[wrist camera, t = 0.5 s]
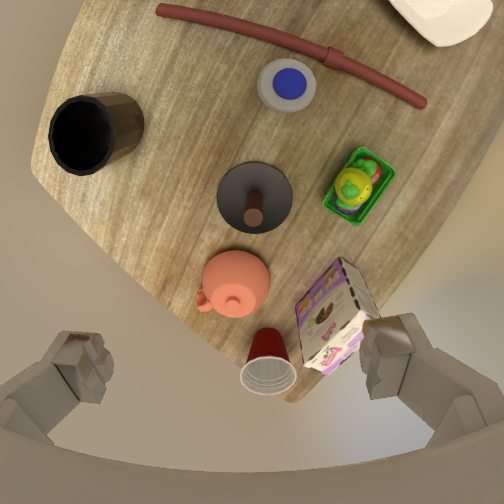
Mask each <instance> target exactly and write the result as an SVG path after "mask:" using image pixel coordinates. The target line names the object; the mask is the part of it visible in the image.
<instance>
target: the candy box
mask: <svg viewBox="0 0 504 504" xmlns="http://www.w3.org/2000/svg"><path fill="white" fill-rule="evenodd" d="M295 310H296V317H297V323H298V331H299V338H300V346H301V352H302V360H303V366H306V367H308V368H311V369H313V370H315V371H318V372H320V373H322V374H325V375H327V376H328V375H329V374H331V372H333V371H334V370H335V369H336V368H338V367H339V366H340V365H341V364H342V363H343V362H344V361H345V360H347V359H348V358H349V357H350V356H351V355H352V354H353V353H354V352H355V351H356V350H358V349H359V348H360V342H361V340H362V339H363V338H364V335H363V332H362V327H363V322H364V320H368V319H375V318H381V316H380V314H379V312H378V310H377V307H376V305H375V303H374V301H373V299H372V296H371V294H370V292H369V290H368V288H367V285H366V283H365V281H364V279H363V277H362V275H361V273H360V271H359V270H358V269H357V268H355V267H354V266H352V265H351V264H349V263H348V262H347V261H345V260H344V259H342V258H341V257H339V258H337V260H336V261H335V262H334V263H333V264H332V265H331V267H330V268H329V269H328V270H327V271H326V272H325V273H324V274H323V276H322V277H321V278H320V279H319V280H318V281H317V282H316V284H315V285H314V286H313V287H312V288H311V289H310V290H309V291H308V293H307V294H306V295H305V296H304V297H303V298H302V299H301V300H300V301H299V303H298V304H297V305H296V306H295Z"/></svg>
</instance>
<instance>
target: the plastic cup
mask: <svg viewBox="0 0 504 504" xmlns="http://www.w3.org/2000/svg"><path fill="white" fill-rule="evenodd" d="M296 378H297V376H296V369H295V368H294V367H293V365H292V364H291V363H290V361H289V358H288V355H287V351H286V348H285V345H284V343H283V340H282V337H281V335H280V333H279V332H278V331H277V330H275V329H272V328H263V329H261V330H259V331H258V332H257V333H256V334H255V336H254V339H253V343H252V346H251V349H250V352H249V356H248V359H247V362H246V364H245V365H244V366H243V367H242V370H241V373H240V380H241V383H242V384H243V385H244V386H245V387H246V389H247V390H249V391H251V392H254V393H256V394H262V395H275V394H279V393H281V392H284V391H286V390H288V389H289V388H290V387H291V386H293V384H294V382H295V380H296Z"/></svg>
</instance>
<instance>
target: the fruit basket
mask: <svg viewBox="0 0 504 504" xmlns="http://www.w3.org/2000/svg"><path fill="white" fill-rule="evenodd" d="M395 175H396V170H395V169H394V168H393V167H391V166H390V165H389V164H387V163H386V162H385V161H383V160H382V159H380V158H379V157H378V156H376V155H375V154H374V153H372V152H371V151H369V150H368V149H367V148H365V147H360V148H358V149H357V150H354V151H353V153H352V154H351V156H350V158H349V160H348V161H347V162H346V163H345V165H344V166H343V168H342V170H341V172H340V173H339V174H338V175H337V177H336V178H335V180H334V182H333V184H332V185H331V186H330V187H329V189H328V190H327V192H326V196H325V198H324V200H323V206H324V207H325V208H326V209H328V210H330V211H331V212H333V213H334V214H336V215H338V216H339V217H341V218H343V219H344V220H346V221H347V222H349V223H351V224H352V225H354V226H359V225H361V224H362V222H363V221H364V220H365V218H366V217H367V215H368V214H369V213H370V211H371V210H372V208H373V207H374V205H375V204H376V203H377V201H378V200H379V199H380V197H381V196H382V194H383V193H384V191H385V190H386V188H387V187H388V186H389V184H390V183H391V181H392V180H393V178H394V177H395Z"/></svg>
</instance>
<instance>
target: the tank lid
mask: <svg viewBox="0 0 504 504" xmlns="http://www.w3.org/2000/svg"><path fill="white" fill-rule="evenodd" d="M217 204H218V208H219V211H220V213H221V215H222V217H223V218H224V219H225V221H226V222H227V223H228V224H229V225H231V226H232V227H233V228H235V229H237V230H239V231H242V232H245V233H250V234H260V233H265V232H268V231H271V230H273V229H275V228H276V227H278V226H279V225H280V224H281V223H282V222H283V221H284V220H285V219H286V217H287V216H288V214H289V212H290V209H291V206H292V191H291V187H290V185H289V182H288V181H287V179H286V178H285V176H284V175H283V174H282V173H281V172H280V171H279V170H277V169H276V168H274V167H273V166H271V165H268V164H265V163H260V162H248V163H244V164H241V165H238V166H236V167H234V168H233V169H231V170H230V171H229V172H228V173H227V174H226V175H225V176H224V178H223V179H222V181H221V183H220V185H219V187H218V191H217Z"/></svg>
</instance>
